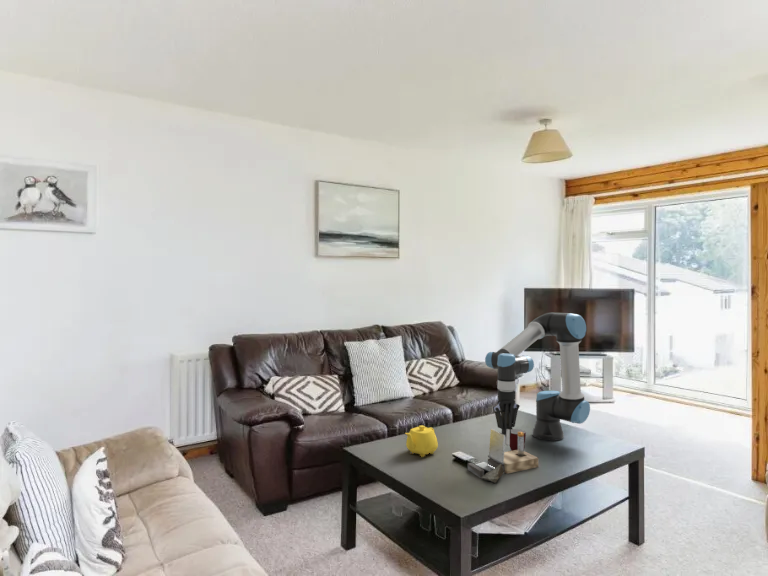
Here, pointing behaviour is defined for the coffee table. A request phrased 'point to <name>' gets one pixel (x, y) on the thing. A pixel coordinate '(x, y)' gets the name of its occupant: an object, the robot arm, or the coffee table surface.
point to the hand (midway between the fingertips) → (506, 443)
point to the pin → (520, 444)
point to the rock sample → (494, 474)
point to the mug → (515, 439)
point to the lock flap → (497, 446)
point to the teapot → (422, 440)
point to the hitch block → (508, 463)
